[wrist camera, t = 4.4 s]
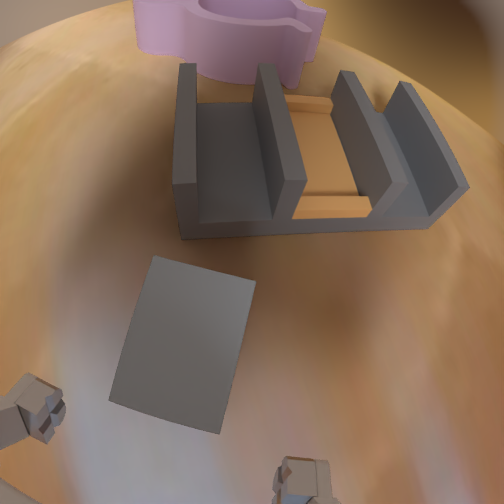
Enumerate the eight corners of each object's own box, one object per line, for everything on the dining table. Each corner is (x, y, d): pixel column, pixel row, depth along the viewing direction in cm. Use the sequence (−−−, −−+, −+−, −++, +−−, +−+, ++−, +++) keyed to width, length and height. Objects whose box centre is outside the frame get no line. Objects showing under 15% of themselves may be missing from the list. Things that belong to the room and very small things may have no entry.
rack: (181, 239, 21) (172, 184, 15) (182, 122, 25) (179, 63, 20) (427, 229, 23) (469, 187, 18) (385, 128, 28) (410, 83, 22)
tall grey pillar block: (157, 398, 17) (108, 400, 8) (180, 317, 19) (153, 255, 11) (217, 414, 17) (219, 434, 8) (237, 332, 19) (256, 281, 11)
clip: (116, 60, 29) (107, 9, 23) (174, 18, 35) (173, -25, 28) (288, 104, 28) (303, 42, 22) (318, 52, 33) (332, 5, 27)
